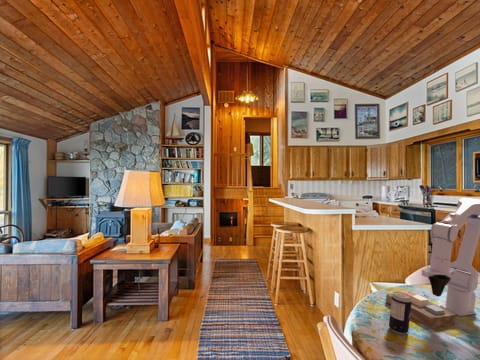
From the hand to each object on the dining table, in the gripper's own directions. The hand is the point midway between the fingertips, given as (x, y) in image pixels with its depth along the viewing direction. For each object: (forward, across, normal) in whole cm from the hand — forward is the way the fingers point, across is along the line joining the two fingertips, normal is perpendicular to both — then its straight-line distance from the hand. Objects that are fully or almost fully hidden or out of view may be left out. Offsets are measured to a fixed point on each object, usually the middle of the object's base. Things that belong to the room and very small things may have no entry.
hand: (436, 295), depth 106 cm
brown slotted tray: (+9, 0, -6) cm, 11 cm away
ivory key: (+6, 0, -6) cm, 9 cm away
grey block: (+7, 0, 0) cm, 7 cm away
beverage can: (+10, +19, +2) cm, 21 cm away
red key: (+7, 0, -12) cm, 14 cm away
